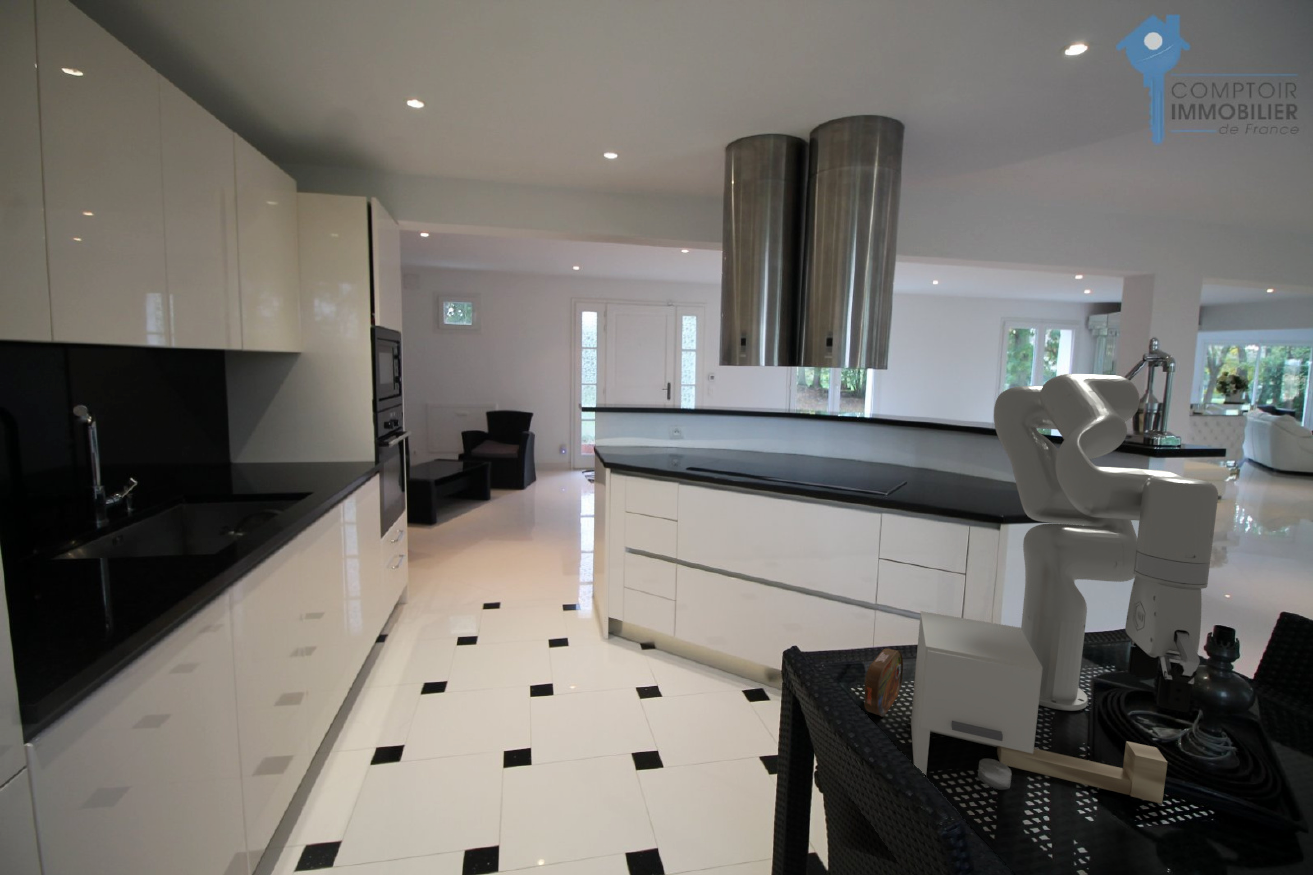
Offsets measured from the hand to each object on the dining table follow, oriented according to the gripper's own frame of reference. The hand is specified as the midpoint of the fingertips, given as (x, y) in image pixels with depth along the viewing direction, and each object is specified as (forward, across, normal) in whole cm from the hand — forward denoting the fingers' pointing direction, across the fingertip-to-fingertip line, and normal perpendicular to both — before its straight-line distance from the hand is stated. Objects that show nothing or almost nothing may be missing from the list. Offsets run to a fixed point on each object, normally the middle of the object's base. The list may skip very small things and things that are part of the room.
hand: (1156, 691), depth 80 cm
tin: (+15, -10, -34) cm, 38 cm away
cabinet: (+15, +2, -23) cm, 27 cm away
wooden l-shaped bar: (+15, -1, -8) cm, 17 cm away
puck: (+15, +5, -19) cm, 25 cm away
